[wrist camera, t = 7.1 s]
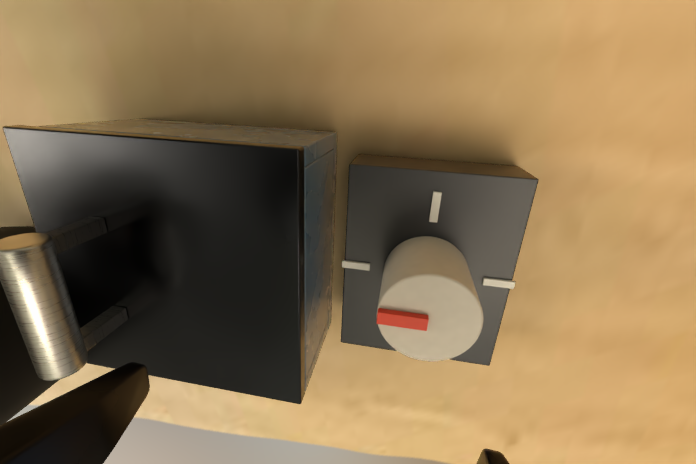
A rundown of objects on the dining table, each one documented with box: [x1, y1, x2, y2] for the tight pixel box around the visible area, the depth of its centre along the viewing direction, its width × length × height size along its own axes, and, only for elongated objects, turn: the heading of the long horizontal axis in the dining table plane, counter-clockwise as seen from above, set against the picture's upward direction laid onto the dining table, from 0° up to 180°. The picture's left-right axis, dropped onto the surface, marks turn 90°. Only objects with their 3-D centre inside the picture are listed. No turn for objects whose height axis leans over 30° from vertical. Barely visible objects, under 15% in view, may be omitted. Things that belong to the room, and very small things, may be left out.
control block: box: [341, 154, 538, 366], centre depth 18 cm, size 10×8×3 cm
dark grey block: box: [39, 119, 337, 391], centre depth 18 cm, size 12×12×6 cm
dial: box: [376, 236, 483, 361], centre depth 14 cm, size 4×4×4 cm
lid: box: [0, 125, 305, 404], centre depth 13 cm, size 12×12×4 cm
